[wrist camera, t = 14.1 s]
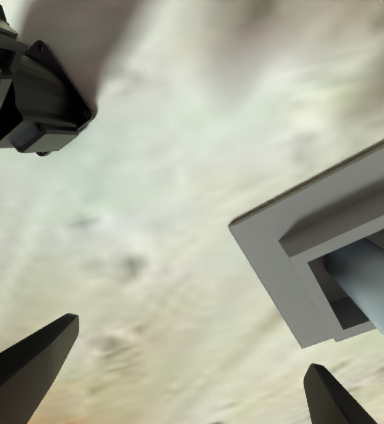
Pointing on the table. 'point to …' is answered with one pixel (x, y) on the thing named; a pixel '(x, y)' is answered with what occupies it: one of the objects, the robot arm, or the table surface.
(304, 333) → the grey square socket base
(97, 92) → the table surface
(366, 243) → the pale blue rounded cylinder
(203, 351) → the table surface
